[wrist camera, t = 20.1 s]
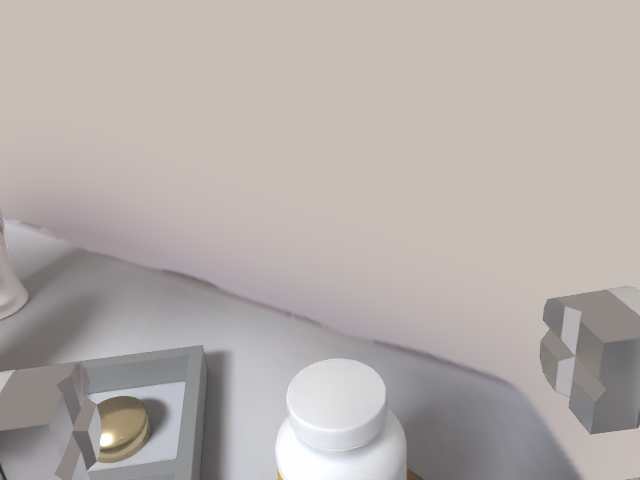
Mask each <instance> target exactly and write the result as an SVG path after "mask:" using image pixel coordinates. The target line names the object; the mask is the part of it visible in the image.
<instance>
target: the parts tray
mask: <svg viewBox="0 0 640 480" xmlns="http://www.w3.org/2000/svg"><path fill="white" fill-rule="evenodd" d="M79 362H80V363H81V364H82V365H83V366H85V368H86V371H87V374H88V377H89V380H90V385H89V388H88V391H87V394H90V393H98V392H105V391H112V390H120V389H127V388H134V387H142V386H149V385H156V384H164V383H171V382H178V381H186V384H185V392H184V401H183V409H182V418H181V426H180V434H179V443H178V451H177V459H174V460H167V461H161V462H154V463H147V464H140V465H133V466H126V467H119V468H113V469H106V470H99V471H92V472H88V476H89V479H90V480H200V470H201V456H202V442H203V429H204V415H205V401H206V388H207V374H208V368H207V363H206V358H205V354H204V349H203V345H200V346H192V347H185V348H177V349H169V350H162V351H154V352H147V353H139V354H132V355H124V356H116V357H109V358H101V359H94V360H86V361H79ZM71 363H77V362H71ZM63 364H68V363H63ZM56 365H60V364H56ZM48 366H51V365H48Z"/></svg>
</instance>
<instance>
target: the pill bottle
mask: <svg viewBox="0 0 640 480" xmlns="http://www.w3.org/2000/svg"><path fill="white" fill-rule="evenodd" d="M286 402H287V410H288V416H287V417H286V418H285V420H284V422H283V423H282V425H281V427H280V429H279V432H278V435H277V439H276V445H275V456H276V464H277V470H278V476H279V480H407V443H406V437H405V433H404V430H403V427H402V425H401V423H400V421H399V420H398V418H397V417H396V415H395V414H394V413H393V412H392V411H391V410H390V409H389V408H388V401H387V389H386V386H385V383H384V381H383V379H382V378H381V376H380V375H379V374H378V373H377V372H376V371H375V370H374V369H372V368H371V367H370V366H368V365H366V364H364V363H362V362H359V361H356V360H352V359H344V358H334V359H326V360H322V361H318V362H316V363H313V364H311V365H309V366H307V367H305V368H304V369H302V370H301V371H300V372H299V373H298V374H297V375H296V376H295V377H294V378H293V379H292V381H291V382H290V384H289V387H288V390H287V395H286Z"/></svg>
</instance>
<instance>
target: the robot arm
mask: <svg viewBox="0 0 640 480" xmlns="http://www.w3.org/2000/svg"><path fill="white" fill-rule="evenodd" d="M543 321H544V322H545V323H546V325H547V326H548V327H549V328H550V329H549V331H548V332H547V333H546V335H545V336H544V337H543V338H542V340H541V345H540V360H541V364H542V369H543V372H544V374H545V376H546V379H547V381H548V382H549V384H550V385H551V386H552V388H553V389H554V390H555V391H556V392H558V393H561V394H562V395H565V396H567V397H569V398H570V402H569V409H570V410H571V411H572V412H573V414H574V415H575V416H576V417H577V419H579V421H580V422H581V423H582V425H583V426H584V427H585V428H586V430H587V431H588V432H589V433H590V434H596V433H604V432H612V431H619V430H627V429H634V428H639V431H640V290H638V289H637V288H635V287H630V286H623V287H617V288H612V289H606V290H601V291H596V292H589V293H583V294H577V295H570V296H564V297H558V298H552V299H548V300H547V302H546V304H545V307H544V313H543ZM89 385H90V380H89V377H88V374H87V371H86V368H85V366H83V365H82V364H81V363H80V362H77V363H68V364H60V365H51V366H43V367H34V368H26V369H19V370H8V371H1V372H0V480H90V479H89V476H88V472H87V470H88V469H89V468H90V467H91V466H92V465H94V464H95V463H96V462H97V459H98V455H99V452H100V448H101V432H102V430H101V422H100V415H99V412H98V408H97V405H96V404H95V403H94V402H92V401H91V400H90V399H88V398H87V397H86V394H87V391H88V388H89ZM628 480H640V478H634V479H628Z"/></svg>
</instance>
